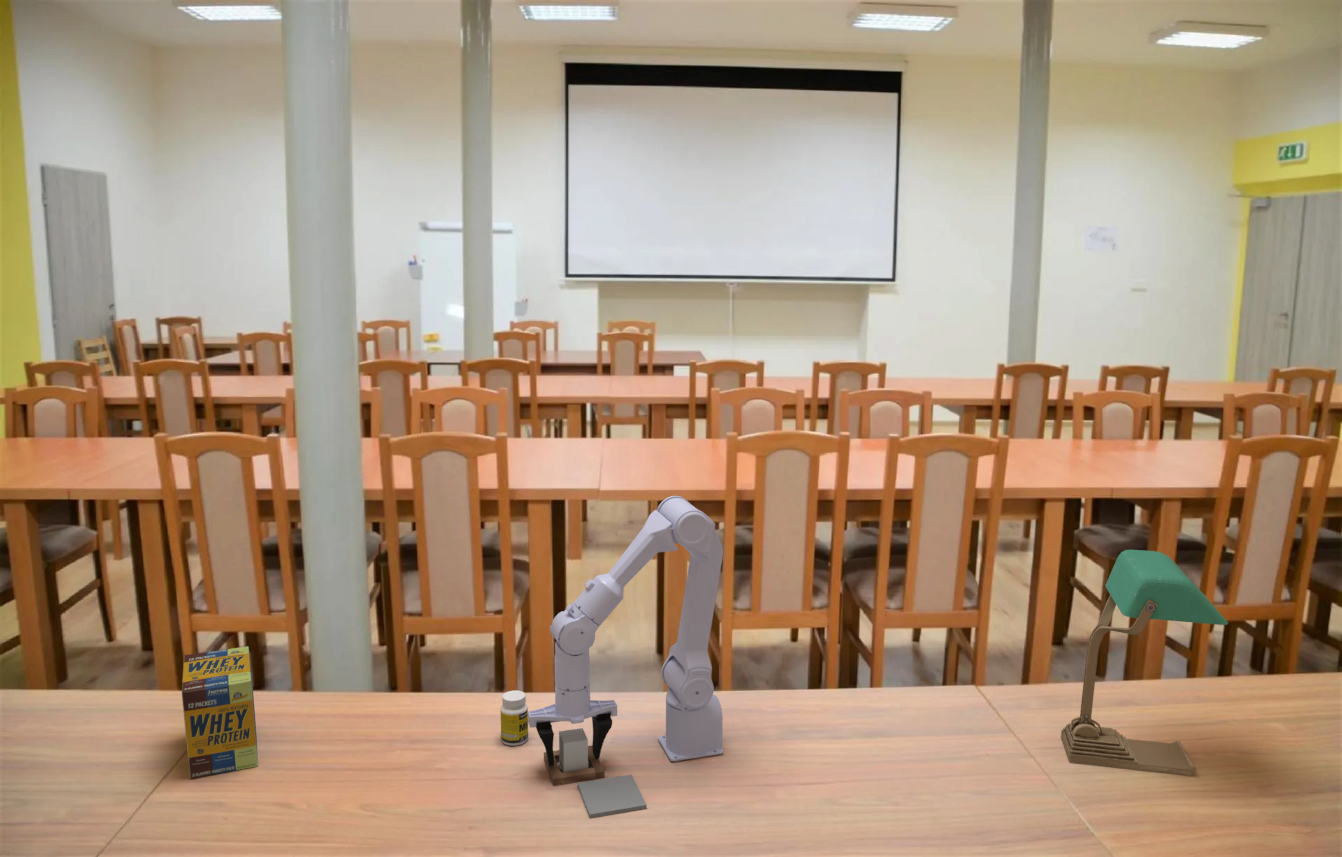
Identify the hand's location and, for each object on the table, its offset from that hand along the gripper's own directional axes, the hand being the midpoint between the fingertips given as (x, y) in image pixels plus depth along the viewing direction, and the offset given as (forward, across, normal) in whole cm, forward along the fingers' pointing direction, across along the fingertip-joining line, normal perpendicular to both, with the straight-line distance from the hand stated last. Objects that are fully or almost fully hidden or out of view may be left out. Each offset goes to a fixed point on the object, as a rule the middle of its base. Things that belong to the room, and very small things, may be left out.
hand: (573, 759), depth 166 cm
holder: (+2, 0, 0) cm, 2 cm away
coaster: (+2, +4, -10) cm, 11 cm away
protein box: (+2, -56, +22) cm, 60 cm away
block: (+2, 0, 0) cm, 2 cm away
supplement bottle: (+2, -8, +12) cm, 15 cm away
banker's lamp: (+2, +92, -23) cm, 95 cm away
